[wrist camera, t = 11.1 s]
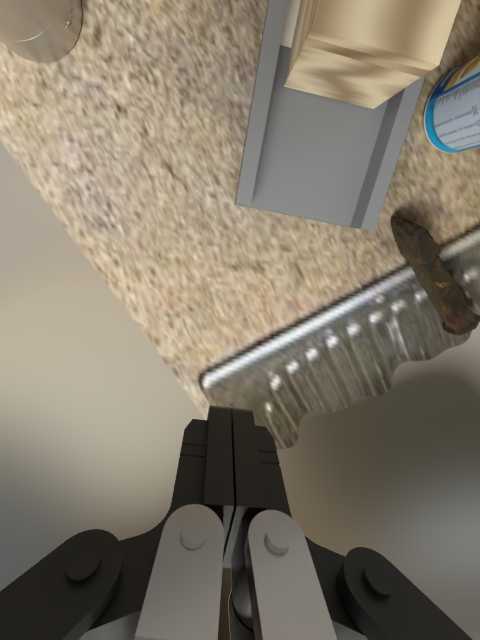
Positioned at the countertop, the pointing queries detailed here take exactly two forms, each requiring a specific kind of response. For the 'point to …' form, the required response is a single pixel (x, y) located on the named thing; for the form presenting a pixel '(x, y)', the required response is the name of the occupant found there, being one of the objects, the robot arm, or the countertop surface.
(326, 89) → the wooden cube box
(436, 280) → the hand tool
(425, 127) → the beverage bottle
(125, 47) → the countertop surface
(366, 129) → the bay
